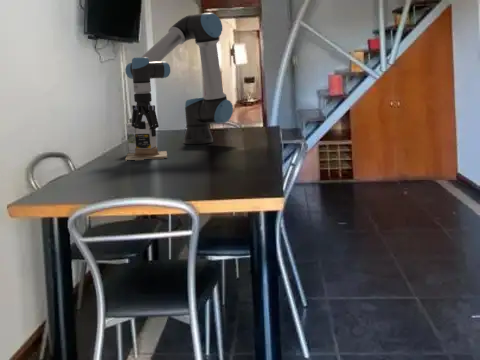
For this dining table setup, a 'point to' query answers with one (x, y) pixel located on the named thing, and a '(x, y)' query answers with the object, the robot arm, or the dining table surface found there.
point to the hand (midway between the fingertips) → (146, 143)
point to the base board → (161, 156)
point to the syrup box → (131, 138)
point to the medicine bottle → (143, 136)
